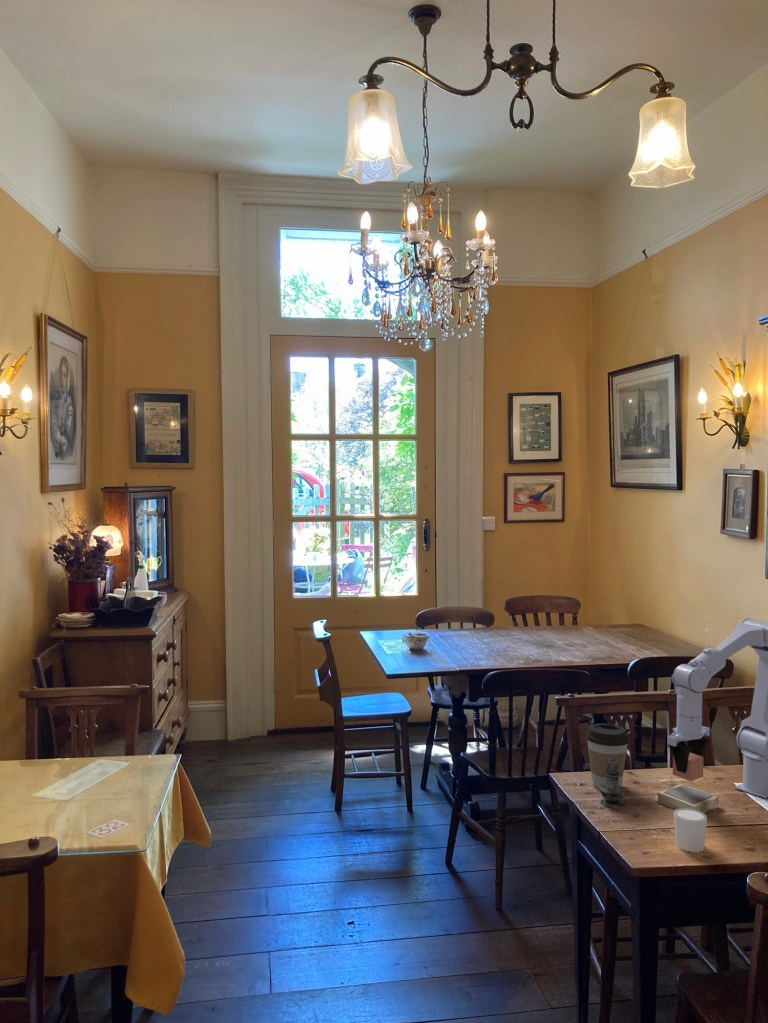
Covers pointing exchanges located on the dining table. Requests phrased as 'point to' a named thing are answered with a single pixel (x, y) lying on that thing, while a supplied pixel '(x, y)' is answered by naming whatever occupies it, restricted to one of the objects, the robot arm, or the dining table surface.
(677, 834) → the shot glass
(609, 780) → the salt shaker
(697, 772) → the block
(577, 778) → the dining table surface
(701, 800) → the base
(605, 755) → the coffee cup
